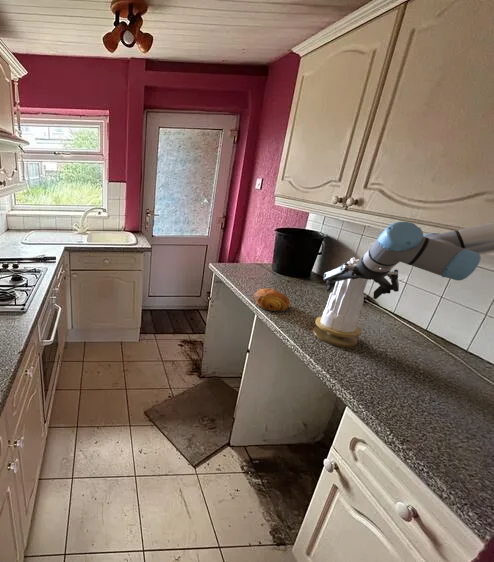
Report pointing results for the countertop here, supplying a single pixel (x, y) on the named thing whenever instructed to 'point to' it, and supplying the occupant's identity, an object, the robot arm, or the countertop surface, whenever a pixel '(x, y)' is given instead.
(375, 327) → the countertop surface
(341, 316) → the decorative vase
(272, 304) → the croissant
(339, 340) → the stand
